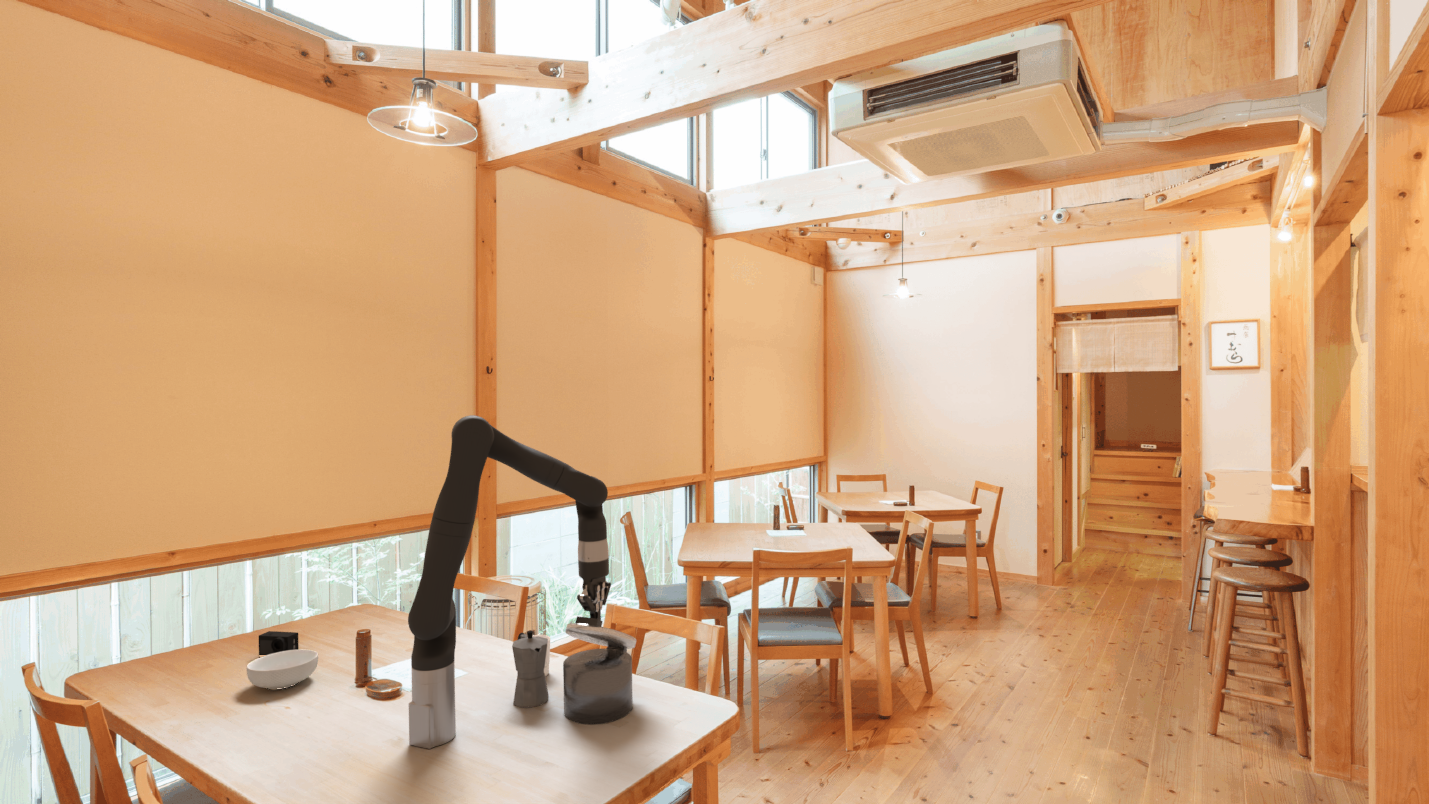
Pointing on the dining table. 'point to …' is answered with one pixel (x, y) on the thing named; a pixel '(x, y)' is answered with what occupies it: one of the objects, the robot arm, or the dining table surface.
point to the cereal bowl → (282, 668)
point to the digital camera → (277, 642)
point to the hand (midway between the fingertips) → (595, 625)
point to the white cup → (546, 668)
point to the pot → (598, 685)
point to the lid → (599, 633)
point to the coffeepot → (530, 670)
